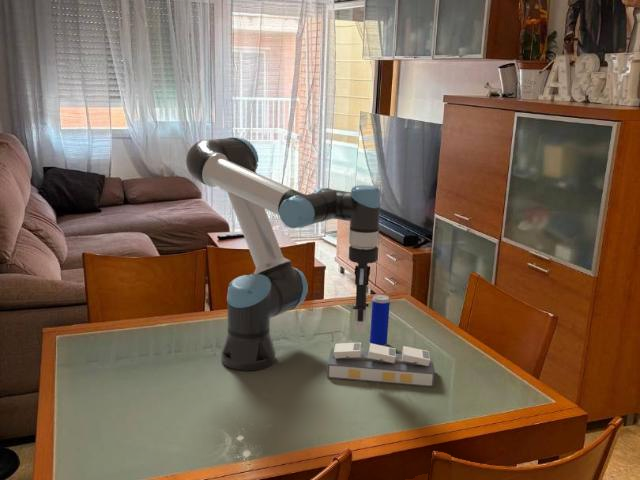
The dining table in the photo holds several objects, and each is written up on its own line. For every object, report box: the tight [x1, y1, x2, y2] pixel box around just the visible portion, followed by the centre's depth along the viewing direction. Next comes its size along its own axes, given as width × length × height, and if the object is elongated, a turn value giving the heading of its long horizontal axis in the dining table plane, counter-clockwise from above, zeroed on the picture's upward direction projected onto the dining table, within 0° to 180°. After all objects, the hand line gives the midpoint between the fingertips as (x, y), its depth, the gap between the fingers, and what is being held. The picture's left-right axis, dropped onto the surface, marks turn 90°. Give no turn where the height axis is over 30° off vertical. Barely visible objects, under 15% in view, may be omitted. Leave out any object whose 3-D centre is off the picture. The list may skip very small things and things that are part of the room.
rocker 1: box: [333, 342, 363, 359], centre depth 167 cm, size 7×6×2 cm
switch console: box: [326, 348, 436, 388], centre depth 167 cm, size 28×10×5 cm, turn 83°
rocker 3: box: [401, 345, 431, 366], centre depth 165 cm, size 7×6×2 cm
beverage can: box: [369, 294, 391, 346], centre depth 185 cm, size 5×5×15 cm
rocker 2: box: [368, 342, 397, 363], centre depth 166 cm, size 7×6×2 cm
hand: (359, 330), depth 165 cm, fingers closed
